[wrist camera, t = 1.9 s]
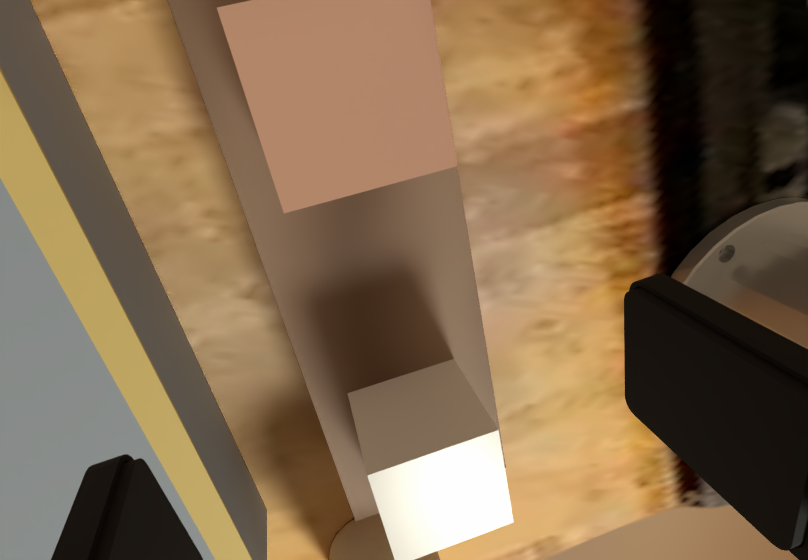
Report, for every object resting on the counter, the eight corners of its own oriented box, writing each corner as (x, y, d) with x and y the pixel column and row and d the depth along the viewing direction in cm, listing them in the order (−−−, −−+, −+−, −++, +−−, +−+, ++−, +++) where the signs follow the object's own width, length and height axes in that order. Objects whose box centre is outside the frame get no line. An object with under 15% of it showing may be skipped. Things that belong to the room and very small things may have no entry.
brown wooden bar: (376, -73, 17) (411, -115, 13) (468, 402, 25) (506, 467, 21) (175, -32, 16) (144, -64, 12) (341, 445, 24) (355, 521, 20)
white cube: (453, 358, 18) (498, 429, 15) (470, 440, 20) (513, 522, 17) (347, 393, 18) (367, 475, 14) (373, 474, 20) (396, 566, 16)
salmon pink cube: (382, -12, 13) (424, -38, 10) (412, 141, 15) (457, 166, 12) (230, 22, 13) (216, 7, 9) (279, 176, 15) (283, 213, 11)
